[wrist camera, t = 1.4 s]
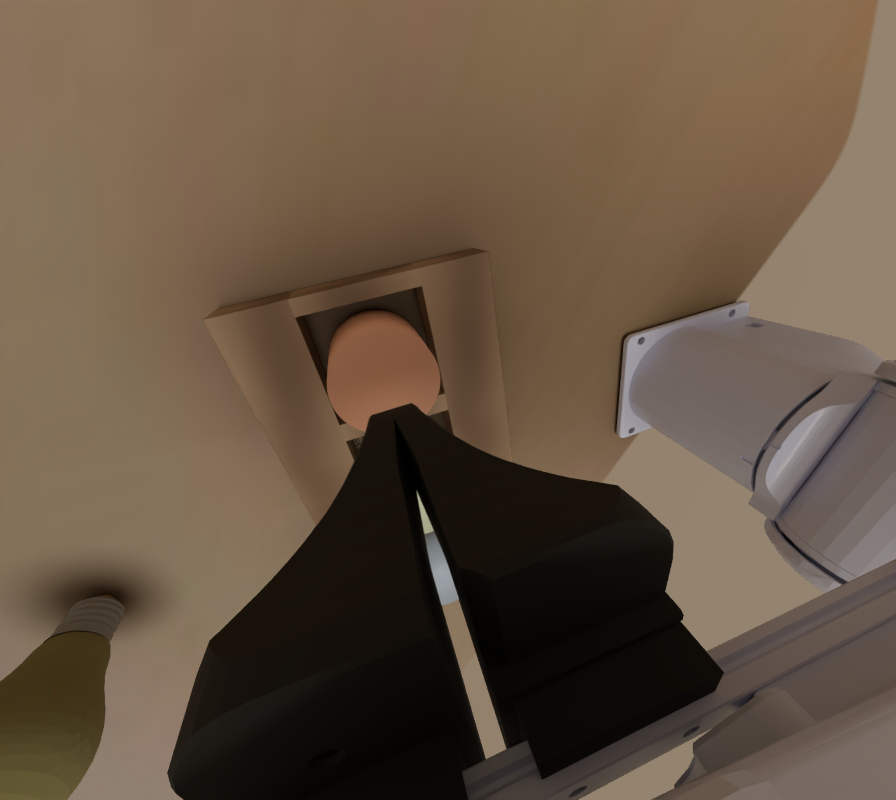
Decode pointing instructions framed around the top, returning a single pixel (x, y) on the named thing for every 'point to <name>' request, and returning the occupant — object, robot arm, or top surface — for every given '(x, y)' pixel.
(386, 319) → the orange rounded lump
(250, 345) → the wooden compartment tray
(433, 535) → the grey rounded piece
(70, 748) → the light bulb
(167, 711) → the top surface
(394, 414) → the robot arm
